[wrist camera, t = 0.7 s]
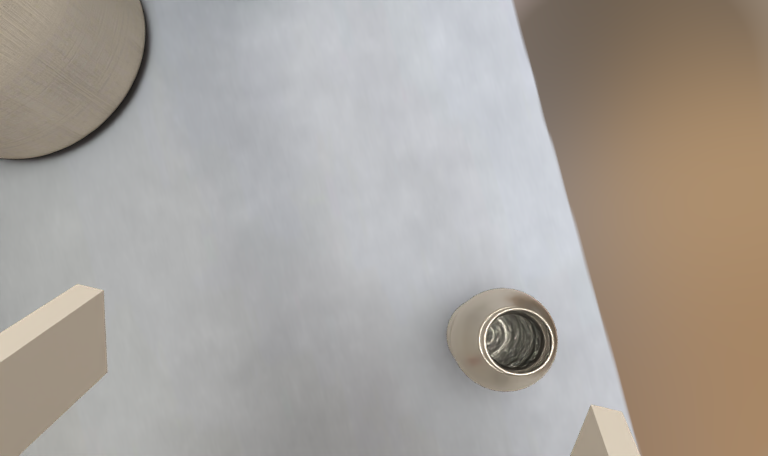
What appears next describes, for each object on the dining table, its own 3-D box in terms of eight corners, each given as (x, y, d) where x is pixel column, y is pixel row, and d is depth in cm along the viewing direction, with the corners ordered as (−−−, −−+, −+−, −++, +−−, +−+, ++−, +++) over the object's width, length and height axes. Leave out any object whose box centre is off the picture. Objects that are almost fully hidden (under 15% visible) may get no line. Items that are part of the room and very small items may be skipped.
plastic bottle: (528, 364, 45) (600, 393, 25) (453, 377, 45) (468, 416, 26) (511, 292, 46) (568, 268, 27) (438, 306, 47) (443, 292, 27)
